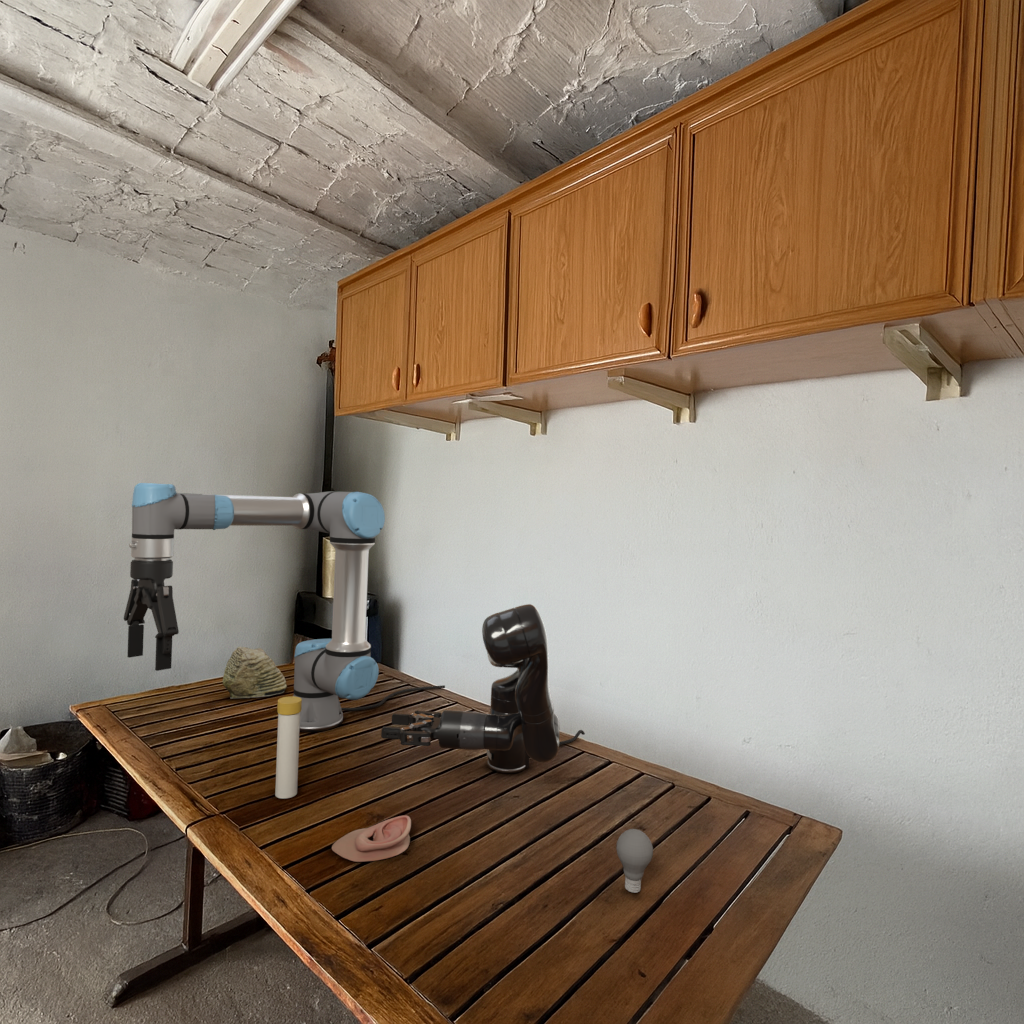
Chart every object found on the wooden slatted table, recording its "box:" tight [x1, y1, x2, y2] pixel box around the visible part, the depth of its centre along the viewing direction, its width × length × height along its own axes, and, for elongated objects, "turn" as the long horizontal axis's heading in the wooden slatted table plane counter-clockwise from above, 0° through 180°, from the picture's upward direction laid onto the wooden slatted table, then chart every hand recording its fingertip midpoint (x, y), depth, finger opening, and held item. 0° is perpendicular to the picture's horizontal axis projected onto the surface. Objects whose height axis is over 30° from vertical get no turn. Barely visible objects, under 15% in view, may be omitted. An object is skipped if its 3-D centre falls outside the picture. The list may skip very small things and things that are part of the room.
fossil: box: [222, 646, 288, 699], centre depth 198 cm, size 9×18×15 cm, turn 132°
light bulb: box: [615, 828, 654, 894], centre depth 106 cm, size 6×6×10 cm
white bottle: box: [274, 712, 300, 800], centre depth 134 cm, size 4×4×20 cm
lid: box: [276, 695, 302, 715], centre depth 134 cm, size 5×5×2 cm
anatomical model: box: [331, 814, 412, 863], centre depth 116 cm, size 13×4×12 cm
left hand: (148, 662), depth 129 cm, fingers open, 13 cm apart
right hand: (387, 725), depth 133 cm, fingers open, 8 cm apart
